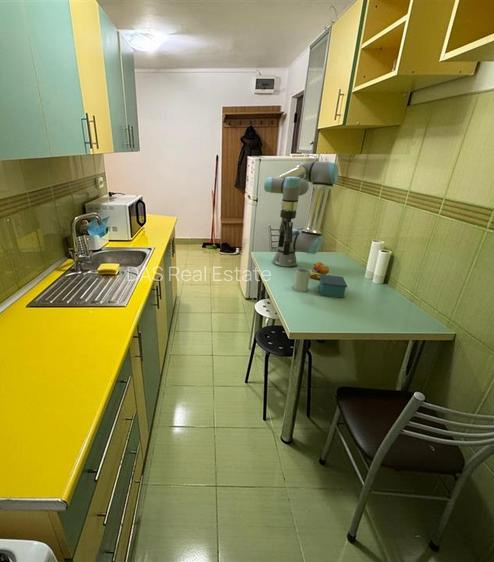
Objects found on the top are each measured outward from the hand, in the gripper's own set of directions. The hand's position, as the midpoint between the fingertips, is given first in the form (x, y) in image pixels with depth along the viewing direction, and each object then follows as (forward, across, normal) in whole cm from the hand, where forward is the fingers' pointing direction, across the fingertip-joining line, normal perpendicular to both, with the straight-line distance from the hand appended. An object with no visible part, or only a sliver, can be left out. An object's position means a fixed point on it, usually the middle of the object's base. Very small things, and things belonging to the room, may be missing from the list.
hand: (283, 250), depth 159 cm
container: (+22, +2, +28) cm, 36 cm away
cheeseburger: (+22, -19, +27) cm, 40 cm away
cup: (+22, 0, +12) cm, 25 cm away
